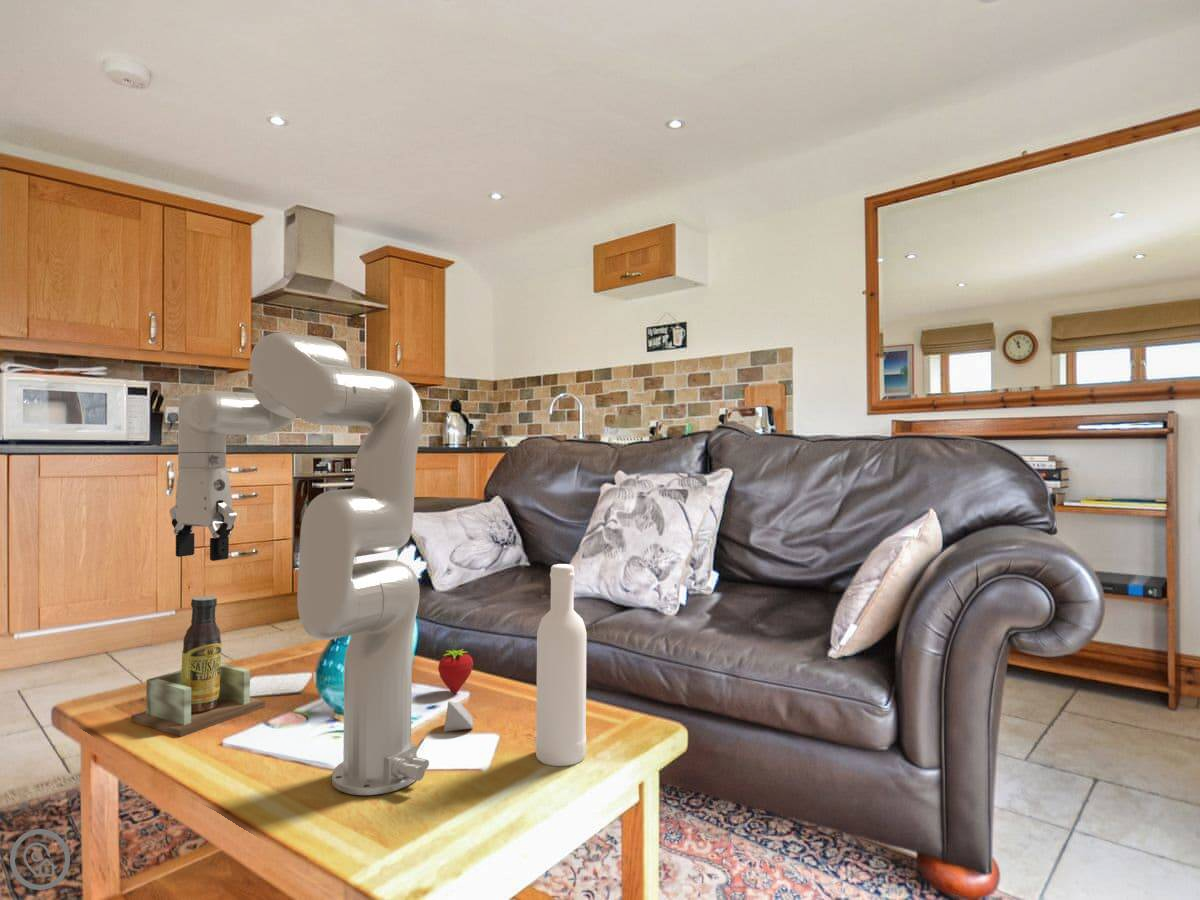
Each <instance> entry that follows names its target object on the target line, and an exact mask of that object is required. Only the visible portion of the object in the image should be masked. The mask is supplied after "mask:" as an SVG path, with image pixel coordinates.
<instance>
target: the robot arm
mask: <svg viewBox="0 0 1200 900" xmlns="http://www.w3.org/2000/svg"><path fill="white" fill-rule="evenodd" d="M249 367H250V372H251V374H252V379H251V387H252V388H251V389H252V392H244V391H243V392H242V391H241V392H240V391H227V390H226V391H225V390H206V391H202V392H199V393H187V394H186V393H185V394H183V395H181V396H180V398H179V400H178V431H177V432H178V438H177V441H178V443H177V444H178V445H177V448H178V451H177V452H178V453H177V454H178V456H177V457H178V459H177V462H178V464H177V467H178V469H177V471H178V475H177V480H176V488H175V489H176V490H175V504H174V506H173V507H171V508H170V509H169V514H170V515H169V516H170V517H171V525H172V527H173V528H174V529H173V534H174V535H175V556H176V557H177V558H181V557H189V556H193V555H195V532H193V531H194V529H195V527H202V528H203V527H205V528H206V527H207V528H208V529H209V532H210V534H211V537H209V560H210V561H211V562H218V561H222V560H223V561H224V560H228V559H229V557H230V556H229V552H230V550H229V549H230V545H229V544H230V543H229V542H230V541H229V538H230V537H231V535H232V531H233V529H234V526H235V521H236V518H237V513H236V512H235V511H234V510H233V500H232V498H233V497H232V489H231V487H232V486H231V481H230V475H229V472H228V470H227V435H229V436H231V435H238V436H239V435H240V436H241V435H242V436H243V435H244V436H245V435H246V436H248V435H249V436H254V435H255V436H263V435H269V434H271V433H275V432H277V431H279V430H282V429H284V428H286V427H288V426H290V425H291V424H293V423H294V421H295V420H296V418H297V417H298V418H299V419H301V420H302V421H304V422H306V423H310V424H312V425H313V424H314V425H319V426H345V427H369V428H370V429H371V430H370V431H369V432H368V434H367V435H366V437H365V438H364V439H363V441H362V443H361V445H360V447H359V449H358V451H357V453H356V456H355V462H354V463H355V464H354V477H353V479H354V480H353V486H352V488H345V489H333V490H332V489H331V490H327V491H324V492H322V493H320V494H317V496H315V497H314V498H313V499H312V500H311V501H310V503H309V504H308V505H307V507H306V509H305V512H303V513H304V514H303V516H302V519H301V525H300V533H299V534H300V535H299V553H298V571H297V572H298V573H297V596H296V597H297V600H296V601H297V612H298V616H299V622H300V623H301V625H302V628H303V629H304V631H305V632H306V633H307V634H308V635H309V636H310V637H312V638H314V639H317V640H321V641H322V640H324V641H329V640H334V639H335V640H336V639H339V638H343V637H348V636H351V637H350V639H349V640H348V645H347V647H346V649H345V650H346V651H345V655H344V656H345V657H344V662H343V663H344V664H343V666H344V667H343V670H344V671H343V761H342V762H340V763H339V764H337V766H336V767H335V768H334V769H333V771H332V773H331V783H332V786H333V787H334V788H335V789H337V790H338V791H340V792H342V793H344V794H349V795H355V796H375V795H376V796H377V795H383V794H388V793H391V792H392V793H393V792H395V791H398V790H401V789H403V788H406V787H407V786H410V785H411V784H412V783H414V782H415V781H418V782H419V781H422V780H423V778H424V776H425V773H426V770H428V768H429V765H430V761H429V760H428V759H425V758H421V757H418V755H417V747H418V746H417V744H413V743H412V690H413V689H412V684H413V683H412V681H413V678H412V677H413V676H412V675H413V674H412V673H413V670H412V669H413V642H414V631H415V630H414V628H415V624H416V618H417V613H418V609H419V605H420V604H419V603H420V594H421V592H420V590H421V589H420V583H419V579H418V577H417V575H416V572H415V571H414V570H413V569H412V568H411V567H410V566H409V565H408V564H406V563H404V562H402V561H399V560H394V559H378V560H372V561H366V562H359V563H355V558H357V557H363V556H364V557H365V556H370V555H376V554H382V553H386V552H387V553H388V552H391V551H395V550H399V549H400V548H402V547H403V546H405V545H406V544H407V543H408V541H410V538H411V535H412V531H413V525H414V523H413V521H414V510H415V508H414V507H415V492H416V491H415V490H416V469H417V468H416V466H417V465H416V464H417V455H418V449H419V445H420V439H421V436H422V435H421V434H422V430H423V421H424V419H423V418H424V417H423V415H424V413H423V406H422V401H421V399H420V396H419V394H418V392H417V391H416V389H415V387H414V386H413V385H412V384H411V383H409V381H407V380H405V379H404V378H403V377H400V376H398V375H395V374H393V373H389V372H385V371H379V370H372V369H366V368H355V367H352V362H351V358H350V356H349V355H348V352H347V351H346V350H345V349H344V348H343V347H341V346H340V345H339V344H337V343H336V342H334V341H331V340H328V339H325V338H319V337H313V336H306V335H299V334H293V333H285V332H274V333H270V334H267V335H265V336H264V337H262V338H261V339H259V340H258V341H257V343H256V344H255V345H254V347H253V349H252V351H251V354H250V359H249ZM354 563H355V564H354Z"/></svg>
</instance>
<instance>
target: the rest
mask: <svg viewBox="0 0 1200 900" xmlns="http://www.w3.org/2000/svg"><path fill="white" fill-rule="evenodd" d="M145 693H146V696H145V697H146V701H145V702H146V703H145V705H146V709H145V710H146V711H142V712H138V713H135V714H133V715H130V716H131V717H130V718H131V722H132V723H135V724H138V725H142V726H144V727H148V728H151V729H155V730H158V731H161V732H163V733H167V734H170V735H174V736H177V737H180V738H181V737H184V736H187V735H189V734H193V733H196V732H198V731H201V730H203V729H207V728H209V727H213V726H214V725H218V724H220V723H221V724H222V723H223V722H226V721H229V720H231V719H235V718H238V717H239V716H243V715H246V714H248V713H252V712H253V711H257V710H259V709H262V708H265V707H266V701H265V700H261V699H257V698H253V697H251V695H250V693H251V669H247V668H244V667H239V666H234V665H230V664H225V663H221V666H220V692H219V698H218V704H217V706H216V707H215V708H213V709H210V710H208V711H204V712H197V713H191V687H187V686H183V685H181V670H176V671H172V672H169V673H165V674H163V675H158V676H155V677H152V678H148V679H146V692H145Z"/></svg>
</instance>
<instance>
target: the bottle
mask: <svg viewBox="0 0 1200 900" xmlns="http://www.w3.org/2000/svg"><path fill="white" fill-rule="evenodd" d="M549 577H550V610H549V611H548V612H547V613H546V614H544V616H543V617H542V618H541V620H540V623H539V625H538V629H537V630H536V631H537V632H536V706H535V707H536V709H535V711H536V713H535V714H536V721H535V723H536V724H535V729H536V730H535V731H536V733H535V756H536V758H537V760H538V761H539V762H541V763H542V764H544V765H548V766H553V767H569V766H574V765H576V764H578V763H581V761H583V760H584V759H585V757H586V750H587V749H586V747H587V733H586V732H587V731H586V730H587V728H586V724H587V723H586V722H587V635H588V634H587V629H586V625H585V622H584V620H583V618H582V617H581V615H580V614H578V613H577V612H576V611H575V610H574V609H575V607H574V606H575V603H574V602H575V601H574V598H575V597H574V596H575V595H574V594H575V593H574V590H575V589H574V588H575V587H574V586H575V580H574V579H575V577H576V574H575V567H574V566H573V565H572V564H569V563H557V564H553V565H552V566H551V567H550V573H549Z"/></svg>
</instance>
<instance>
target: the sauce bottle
mask: <svg viewBox="0 0 1200 900" xmlns="http://www.w3.org/2000/svg"><path fill="white" fill-rule="evenodd" d="M217 600H218V597H217V596H215V595H214V596H213V595H212V596H210V595H207V596H205V595H204V596H203V595H202V596H197V597H196V596H195V597H193V598H191V602H190V603H191V604H190V606H191V607H192V608H191V609H192V610H191V611H192V612H191V620H190V621H191V623H190V624H191V625H190V626H189V627H188V629H187V630H186V632H185V635H184V636H183V644H182V645H183V646H182V647H183V649H182V651H181V685H183V686H187V687H191V713H197V712H204V711H208V710H210V709H213V708H215V707H216V706H217V704H218V698H219V692H220V666H221V664H222V662H221V661H222V638H221V632H220V631H221V630H220V629H219V626H218V624H217V621H216V607H217V604H218V602H217Z"/></svg>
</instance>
